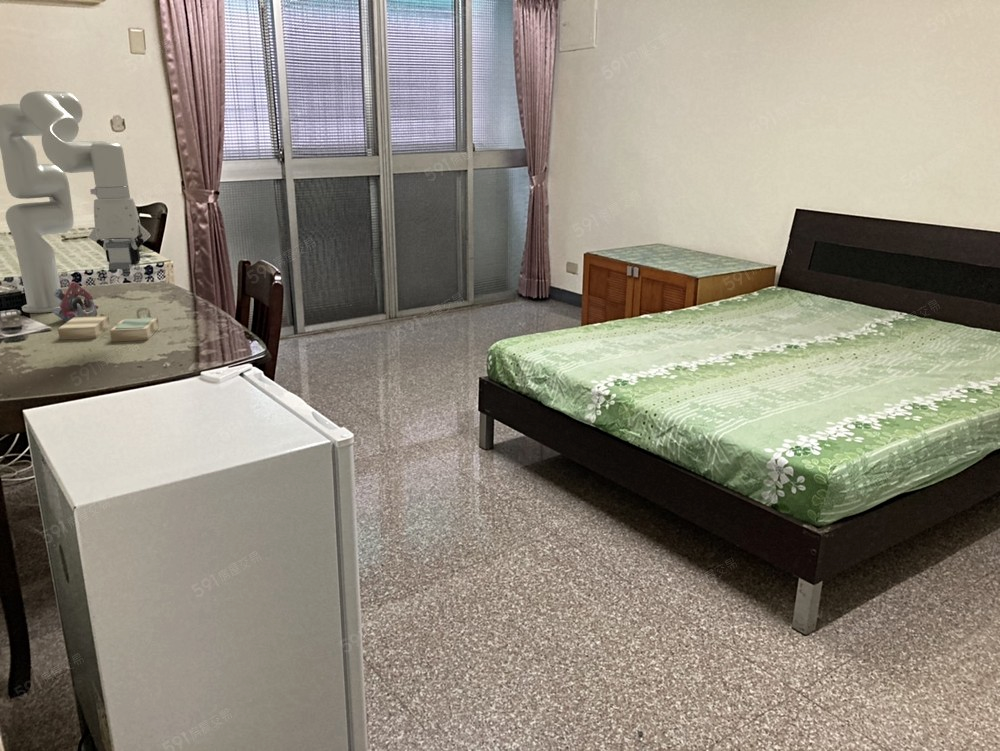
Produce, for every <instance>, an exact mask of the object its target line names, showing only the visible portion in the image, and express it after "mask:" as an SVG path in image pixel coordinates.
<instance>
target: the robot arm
mask: <svg viewBox="0 0 1000 751" xmlns="http://www.w3.org/2000/svg"><path fill="white" fill-rule="evenodd" d="M83 115H84V114H83V108H82V105H81V102H80V101H79V99H78V98H77V97H76V96H75V95H73V94H72V93H70V92H66V91H44V90H43V91H40V90H39V91H37V90H35V91H31V92H27V93H25V94H24V95H22V97H21V98H20V101H19V103H3V104H0V153H1V160H2V166H3V172H4V177H5V183H6V187H7V190H8V193H9V194H10V196H12V197H13V198H15V199H23V200H26V199H27V200H30V199H40V198H41V199H42V198H48V199H49V201H36V202H26V203H25V202H24V203H18V204H14V205H12V206H10V207H9V208H8V209H7V210H6V211H5V220H6V224H7V227H8V229H9V231H10V234H11V237H12V239H13V243H14V246H15V247H14V248H15V251H16V255H17V260H18V265H19V269H20V270H19V271H20V275H21V279H22V284H23V290H24V293H25V299H26V304H24V305H23V306H22V307H21V310H22V311H23V312H24V313H28V314H29V313H30V314H41V313H43V314H45V313H50V312H51V313H53V312H52V311H54V310H61V308H60V306H59V298H57V297H55V296H54V293H55V292H56V289H59V288H60V289H61V282H60V277H59V273H58V268H57V261H56V257H55V252H54V249H53V247H52V246H51V245H50V243H48V241H47V240H45V239H44V238H43V236H47V235H54V234H61V233H67V232H69V231H71V230H72V228H73V226H74V213H73V212H74V210H73V205H72V204H73V203H72V196H71V189H70V182H69V179H68V176H67V174H66V173H70V174H77V173H93V178H94V185H95V187H94V188H90V195H94V196H95V197H96V198H97V199H96V198H95V199H94V200H93V218H94V219H93V221H94V228H93V229H92V231H91V232H90V233H89V236H88V238H89V239H90V240H92V241H93V242H95V243H96V244H98V246H100V247H101V248H103V250H104V252H105V257H106V260H107V262H108V263H109V264H110V259H109V253H108V248H106V247H105V243H107V242H110V241H111V240H113V239H129V241H130V244H131V246H132V250H131V255H132V262H133V264H134V265H135V266H136V265H138V264H140V261H141V255H140V247H141V246H142V245H143V244H144V243H145V242H146V241H147V240H148V239H149V238H150V237H151V235H152V234H151V233H150V232H149V231H148V230H147V229H145V227H144V226H142V224H141V221H140V215H139V212H138V210H137V206H136V202H135V200H134V198H132V197H131V194H130V193H131V192H130V188H129V181H128V176H127V174H128V173H127V167H126V161H125V154H124V149H123V147H122V145H121V144H120V143H118V142H117V143H116V142H106V141H102V140H101V141H100V140H99V141H97V140H95V141H93V140H91V141H84V140H83V141H74V140H75V139H76V137H78V134H79V130H80V129H79V128H80V127H79V123H80V122H81V121H82V119H83ZM27 137H41V145H42V148H43V152H44V154H45V156H46V157H47V159H48V160H49V161H50V162H51V163H38V158H37V151H36V148H35V146H34V145H33V143H32V142H31V141H30V140H29V139H28V138H27ZM140 235H142V236H141V237H139V236H140ZM137 237H139V239H138V238H137ZM109 264H108V265H109ZM63 293H64V294H65V292H64V291H63Z"/></svg>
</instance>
